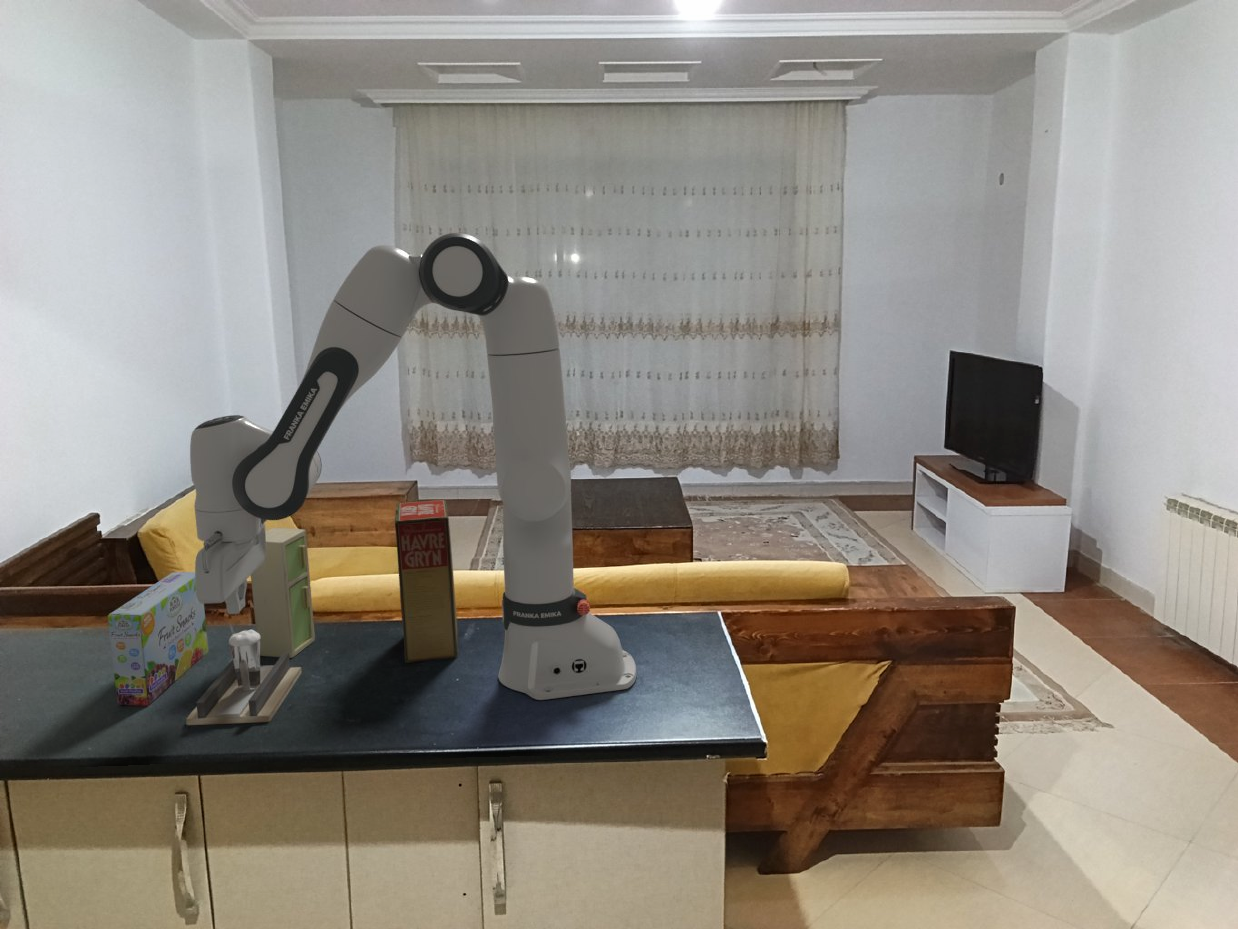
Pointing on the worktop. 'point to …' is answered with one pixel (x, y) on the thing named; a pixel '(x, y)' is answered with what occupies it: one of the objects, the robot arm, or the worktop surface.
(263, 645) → the toy refrigerator
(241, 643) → the milkshake
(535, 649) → the robot arm
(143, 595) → the snack box
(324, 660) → the worktop surface
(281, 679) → the rail plate
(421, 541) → the food packaging
